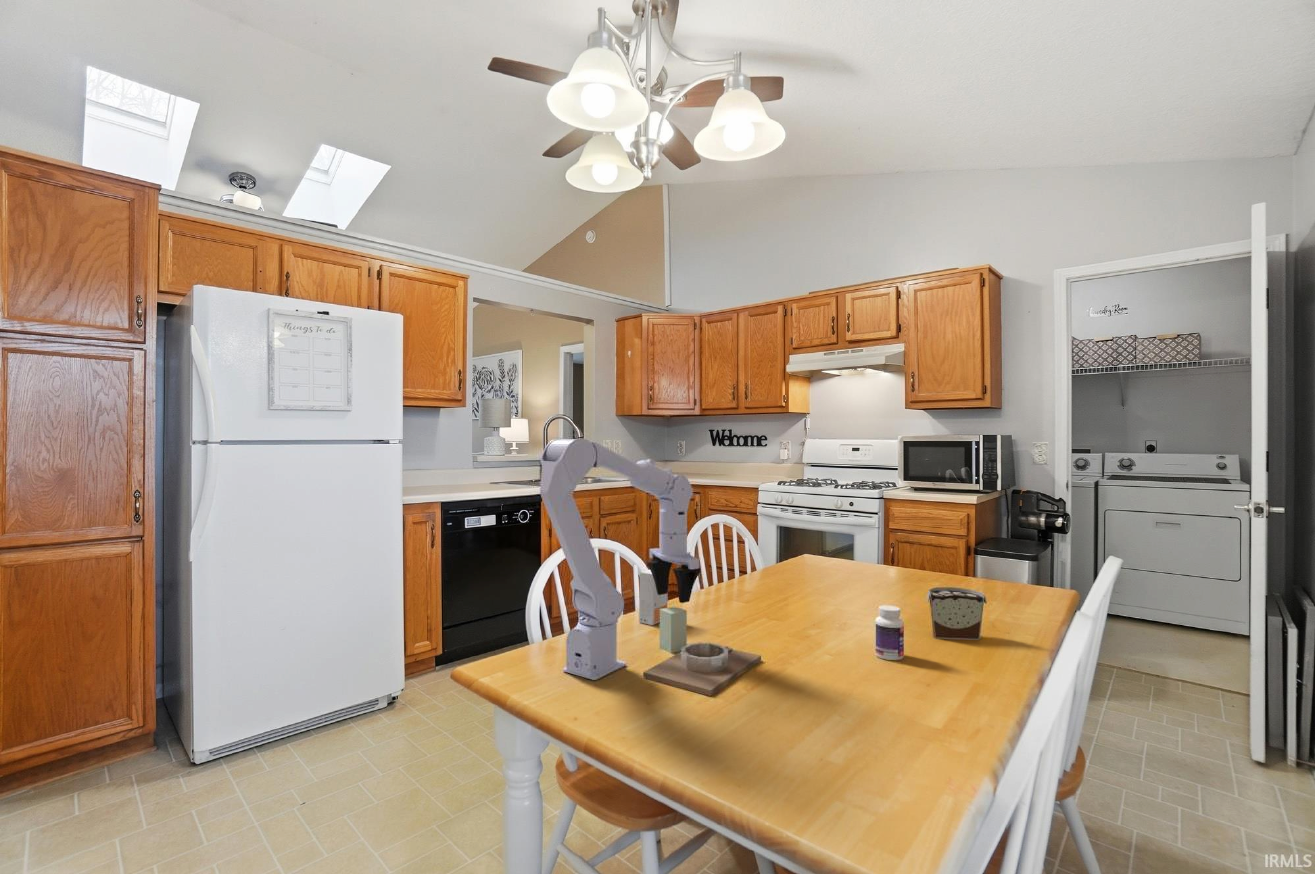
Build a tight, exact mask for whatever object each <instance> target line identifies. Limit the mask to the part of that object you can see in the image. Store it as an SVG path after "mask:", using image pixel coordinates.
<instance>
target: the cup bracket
mask: <svg viewBox="0 0 1315 874" xmlns="http://www.w3.org/2000/svg"><path fill="white" fill-rule="evenodd" d="M761 661H762V655H760V654H756V653H751V652H746V651H742V650H737V649H734V648H732V647H729V646H727V645H725V646H723V645H722V644H718V643H713V642H705V641H704V642H700V641H698V642H692V643H687V645H685V646H683V647H682V648H681V651H679V652H678V653H676V654H674V655H672V656H671V657H669V658H667V659H665V660H663V661H661V662H659V663H658V664H656V665H654V666H652V667H649V668H648V669H647V670H644V671H643V676H642V677H643V679H646V680H647V679H648V680H651V681H655V682H658V683H662V684H665V685H668V686H669V685H670V686H672V687H676V688H680V689H682V690H686V691H691V692H693V693H698V694H701V695H705V696H708V697H711V696H713V695H715V694H716V693H717V692H719V691H720V690H721V689H723V688H724V687H726V686H728V685H729V684H730V683H731V682H733V681H734V680H736V679H737V678H739V677H740V676H742V675H743V674H745V673H746V672H747V671H749V670H750V669H752V668H753V667H754V666H756V665H758V663H760V662H761Z"/></svg>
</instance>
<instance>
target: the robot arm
mask: <svg viewBox="0 0 1315 874" xmlns="http://www.w3.org/2000/svg"><path fill="white" fill-rule="evenodd" d="M539 461H540V463H541V474H540V475H541V476H540V477H541V478H540V488H539V493H540V494H539V495H540V497H541V499H542V502H543V504H544V507H545V509H546V512H547V515H548V517H549V520H550V522H551V526H552V527H553V529H554V533H555V534H556V537H557V540H558V543H559V545H560V547H561V549H562V553H563V554H564V555H563V556H564V557H565V559H566V562H567V564H568V567H569V570H570V571H571V575H572V576H573V579H572V580H571V581H570V584H569V585H570V587H571V590H572V596H571V597H572V601H571V602H572V606H573V607H574V609H575V610H576V611H577V613H578V616H577V617H578V622H577V625H575V626H574V628H572V629H571V630H570V631H569V632H568V633H567V635H566V657H565V658H566V659H565V660H566V661H565V662H566V663H565V665H566V666H565V667H563V668H562V671H563V672H565V673H568V674H571V675H574V676H575V675H576V676H579V677H581V678H585V679H589V680H592V681H597V680H598V679H601V678H603V677H605V676H607V675H608V674H611V673H613V672H615V671H616V670H619V669H620V668H623V667H624V666H626V665H627V662H626V661H624V660H619V659H618V658H617V657H618V656H617V653H618V650H617V649H618V647H617V644H618V642H617V640H618V639H617V637H618V636H617V629H618V628H617V626H618V625H617V624H618V622H619V618H620V617H621V616H622V614H623V611H624V608H625V600H624V597H623V595H622V593H621V592H620V591H619V590H617V589H616V588H615V587H614V585H613V582H612V580H611V579H610V578H609V576H608V575H607V574H606V573H605V572H604V571H603V569H602V568H601V566H600V563H599V559H598V558H597V556H596V553H595V552H596V551H595V549H594V547H593V545H592V542H591V539H590V537H589V535H588V534H589V533H588V531H587V529H586V526H585V524H584V521H583V519H582V515H581V513H580V511H579V509H578V505H577V504H576V503H577V502H576V501H575V498H574V495H573V494H574V492H575V490H576V488H577V487H578V485H579V483H581V482H582V480H583V479H584V478H585V477H586V475H587V474H588V473H590V471H591V470H592V468H596V469H597V468H598V469H599V468H602V469H605V470H608V471H611V472H613V473H615V474H618V475H621V476H623V477H626V478H628V479H629V484H630V485H631V486H632V487H633V488H636V489H637V490H641V491H643V492H645V493H648V494H650V495H652V496H654V497H655V499H657V501H659V535H658V537H659V541H658V542H659V548H658V547H656V548H649V559H651V560H647V562H646V565H647V567H648V570H651V573H652V575H653V578H654V581H655V586H656V590H657V594H658V595H662V594H667V592H669V580H670V573H671V569H672V571H673V574H674V575H675V576H674V577H675V580H676V583H677V585H676V586H677V594H678V595H677V596H678V602H679V603H681V604H684V603H688V602H690V600H691V596H692V592H693V588H694V586H695V582H696V579H697V578H698V576H699V574H700V573H701V567H700V559H699V558H697V557H695V556H693V555H692V554H691V552H690V551H688V509H689V504H690V501H691V498H692V497H693V494H694V487H692V484H691V481H690V480H689V479H688V477H686V476H685V475H681V474H680V475H679V474H673V473H672V472H673V471H672V469H670V468H662V467H661V466H658V465H656V464H655V463H656V461H655V460H653V459H646V460H645V459H642V460H639V461H637V462H635V461H633V460H631V459H630V458H627V457H625V456H623V455H621V454H619V453H617V452H615V451H613V450H611V449H609V448H608V447H606V446H604V445H602V444H600V443H597V442H595V441H590V440H588V439H587V438H584V437H583V438H582V437H581V438H575V439H573V438H568V439H567V438H561V437H559V438H558V437H557V438H553V439H551V440H550V441H549V442H548V443H547V444H546V446H545V447H544V449H543V451H542V453H541V454H540V456H539ZM673 564H675V565H678V566H679V567H674V568H672V566H673Z"/></svg>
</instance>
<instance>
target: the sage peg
mask: <svg viewBox="0 0 1315 874" xmlns="http://www.w3.org/2000/svg"><path fill="white" fill-rule="evenodd" d="M687 612H688V611H687V610H686V609H683V608H681V607H678V606H676V605H674V606H668V607H667V608H663V609H660V623H659V649H662V650H664V651H665V652H668V653H670V654H673V653H677V652H678V653H679V652H681V648H682V647H683V646H685V645H687V644H688V643H687V641H688V639H687V635H688V633H687V629H688V627H687V626H688V625H687V624H688V621H687V620H688V617H687V616H688V615H687V614H688V613H687Z"/></svg>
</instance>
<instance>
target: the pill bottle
mask: <svg viewBox="0 0 1315 874" xmlns="http://www.w3.org/2000/svg"><path fill="white" fill-rule="evenodd" d="M878 615H879V616H877V617H875V620H874V636H875V637H874V654H875V656H876V657H878V658H879V659H882V660H885V661H886V660H887V661H900V660H902V659H904V655H905V654H904V652H905V650H904V649H905V648H904V647H905V646H904V644H905V643H904V641H905V624H904V621H903V620H902V619H901V618H900V616H901V608H900V607H898V606H896V605H889V604H888V605H886V604H885V605H884V604H883V605H879V606H878Z"/></svg>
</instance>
